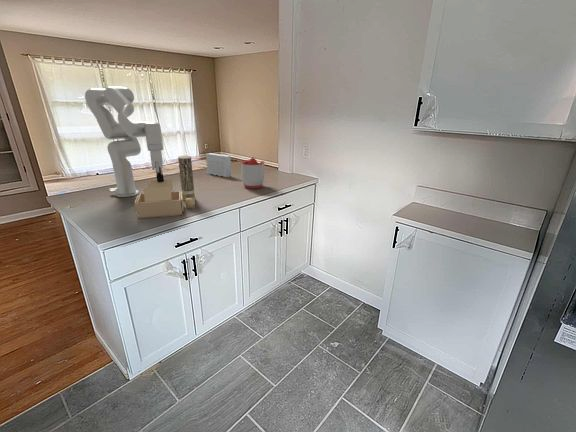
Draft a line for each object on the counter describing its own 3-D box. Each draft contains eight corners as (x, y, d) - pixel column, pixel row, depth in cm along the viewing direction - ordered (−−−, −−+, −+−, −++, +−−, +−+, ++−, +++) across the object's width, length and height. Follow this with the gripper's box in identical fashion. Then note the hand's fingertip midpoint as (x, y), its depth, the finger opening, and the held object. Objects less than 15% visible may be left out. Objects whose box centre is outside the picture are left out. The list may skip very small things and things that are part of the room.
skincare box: (231, 176, 226) (230, 155, 220) (226, 177, 222) (225, 156, 216) (212, 172, 236) (210, 152, 230) (206, 173, 232) (205, 153, 226)
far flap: (172, 190, 160) (171, 180, 162) (172, 190, 159) (171, 179, 161) (148, 192, 156) (147, 181, 158) (148, 191, 155) (147, 181, 158)
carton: (136, 219, 143) (134, 203, 140) (140, 208, 157) (138, 193, 154) (183, 214, 149) (182, 199, 147) (183, 204, 164) (181, 190, 161)
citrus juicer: (269, 185, 206) (270, 156, 199) (257, 191, 191) (257, 160, 184) (250, 182, 212) (250, 154, 205) (237, 187, 197) (236, 158, 190)
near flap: (144, 201, 141) (143, 188, 141) (145, 202, 141) (143, 188, 141) (171, 199, 144) (170, 186, 145) (171, 200, 145) (170, 187, 145)
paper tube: (190, 196, 177) (186, 155, 168) (197, 199, 173) (193, 156, 164) (180, 199, 172) (175, 156, 163) (187, 202, 168) (182, 158, 159)
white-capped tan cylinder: (186, 209, 157) (185, 200, 156) (185, 206, 162) (185, 197, 160) (195, 208, 159) (194, 199, 157) (195, 205, 163) (194, 196, 161)
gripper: (149, 145, 158) (154, 179, 165) (145, 149, 145) (151, 185, 151) (163, 145, 160) (168, 178, 167) (162, 148, 147) (167, 184, 154)
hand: (160, 181), depth 159 cm, fingers closed
